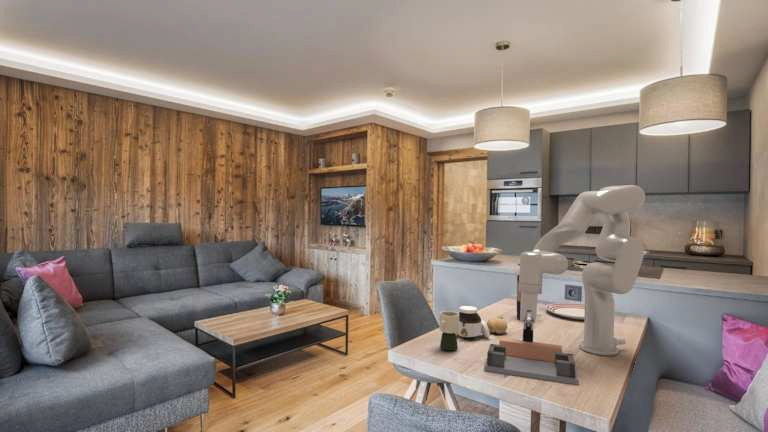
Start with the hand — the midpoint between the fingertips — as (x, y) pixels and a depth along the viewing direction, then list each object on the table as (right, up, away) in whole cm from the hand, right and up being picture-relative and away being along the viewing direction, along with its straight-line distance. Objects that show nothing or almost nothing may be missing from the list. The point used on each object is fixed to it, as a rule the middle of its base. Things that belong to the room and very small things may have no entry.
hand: (527, 337), depth 136 cm
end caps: (-4, -5, -12) cm, 13 cm away
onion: (-3, -7, +27) cm, 28 cm away
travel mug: (+16, -6, +47) cm, 50 cm away
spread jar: (-14, -6, +21) cm, 26 cm away
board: (-4, -7, -12) cm, 14 cm away
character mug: (-26, -7, +7) cm, 28 cm away
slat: (+1, -7, 0) cm, 7 cm away
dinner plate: (+44, -7, +56) cm, 71 cm away
